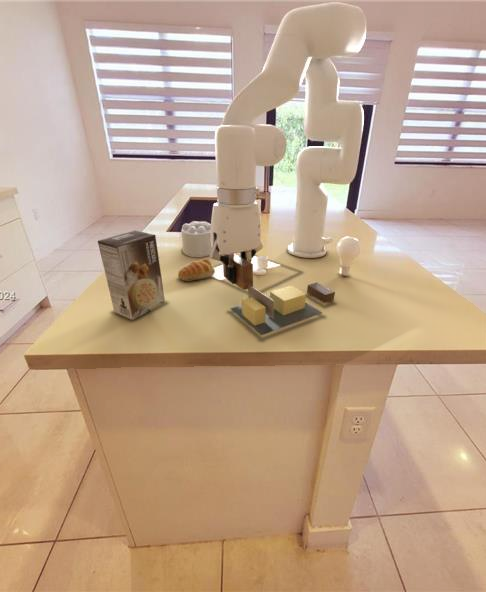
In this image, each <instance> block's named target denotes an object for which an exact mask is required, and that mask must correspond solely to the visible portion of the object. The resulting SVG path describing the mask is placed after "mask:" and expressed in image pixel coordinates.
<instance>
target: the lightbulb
mask: <svg viewBox="0 0 486 592" xmlns="http://www.w3.org/2000/svg"><path fill="white" fill-rule="evenodd" d="M361 250H362V246H361V242H360V241H359V240H358V239H357V238H355V237H354V236H344V237H342V238H341V239H340V240H338V241H337V244H336V247H335V252H336V255H337V257H338V259H339V273H338V274H340V276H342V277H345V276H349V275H350V271H351V266H352V265H353V263H354V261H355V260H356V259H357V258H358V257H359V255H360V253H361Z"/></svg>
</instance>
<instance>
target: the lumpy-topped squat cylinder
mask: <svg viewBox="0 0 486 592" xmlns="http://www.w3.org/2000/svg"><path fill="white" fill-rule="evenodd" d="M181 242H182V252H183V254H185V255H186V256H188V257H190V258H205V257H207V256H209V255H210V252H211V249H212V247H211V223H209V222H207V221H195V220H193V221H191V222H189V223H184V224H183V225H182V226H181Z"/></svg>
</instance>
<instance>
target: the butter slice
mask: <svg viewBox="0 0 486 592" xmlns="http://www.w3.org/2000/svg"><path fill="white" fill-rule="evenodd" d="M241 305H242V315H243V316H244V317H245V318H247V319H248V320H249V321H250V322H251V323H252V324H254V325H258V324H261V323H264V322H265V314H266V307H265V306H263V305H262V304H261V303H259V302H258V301H257V300H255V299H254V298H253V297H251V298H248V297H247V298H244V299H242V300H241Z"/></svg>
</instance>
